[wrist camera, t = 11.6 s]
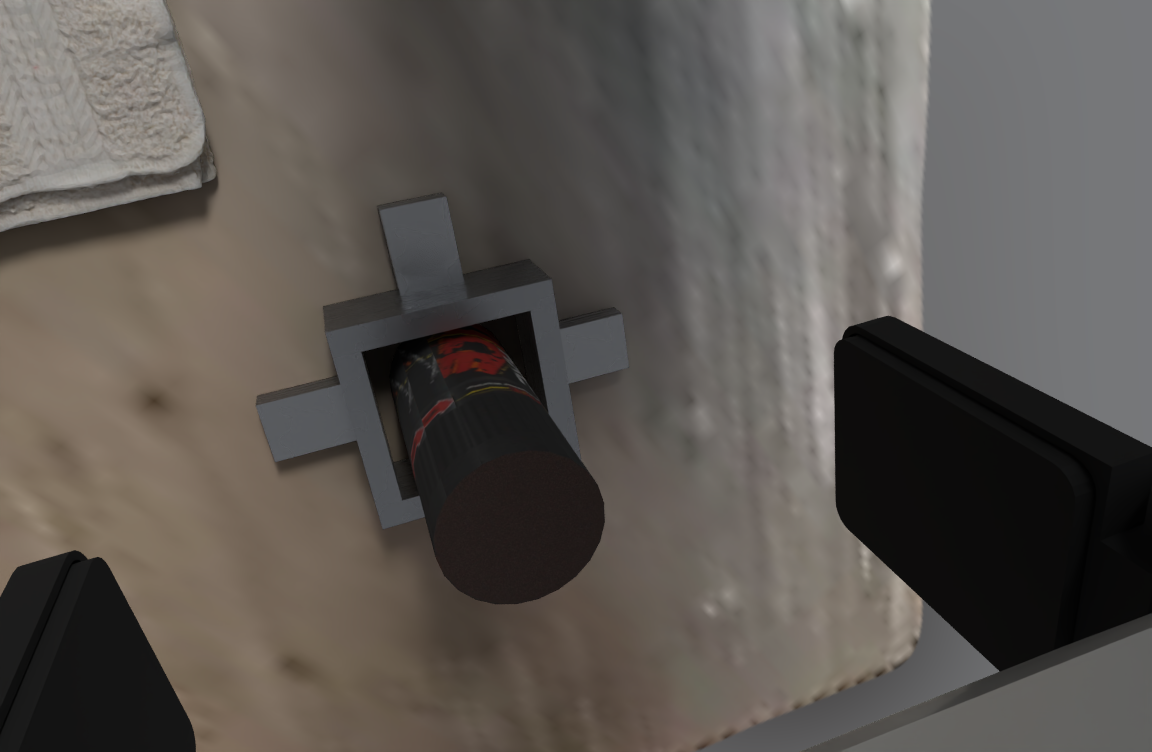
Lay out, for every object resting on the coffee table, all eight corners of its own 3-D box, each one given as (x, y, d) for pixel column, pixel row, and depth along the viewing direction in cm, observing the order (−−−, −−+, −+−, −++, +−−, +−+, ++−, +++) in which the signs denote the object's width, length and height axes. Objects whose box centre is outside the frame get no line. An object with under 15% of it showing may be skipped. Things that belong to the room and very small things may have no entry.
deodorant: (366, 397, 40) (399, 570, 26) (429, 296, 39) (496, 421, 25) (468, 446, 42) (545, 625, 29) (529, 351, 41) (636, 492, 28)
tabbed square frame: (204, 241, 35) (193, 262, 31) (594, 161, 39) (623, 171, 35) (318, 575, 42) (319, 622, 39) (636, 479, 46) (664, 514, 43)
